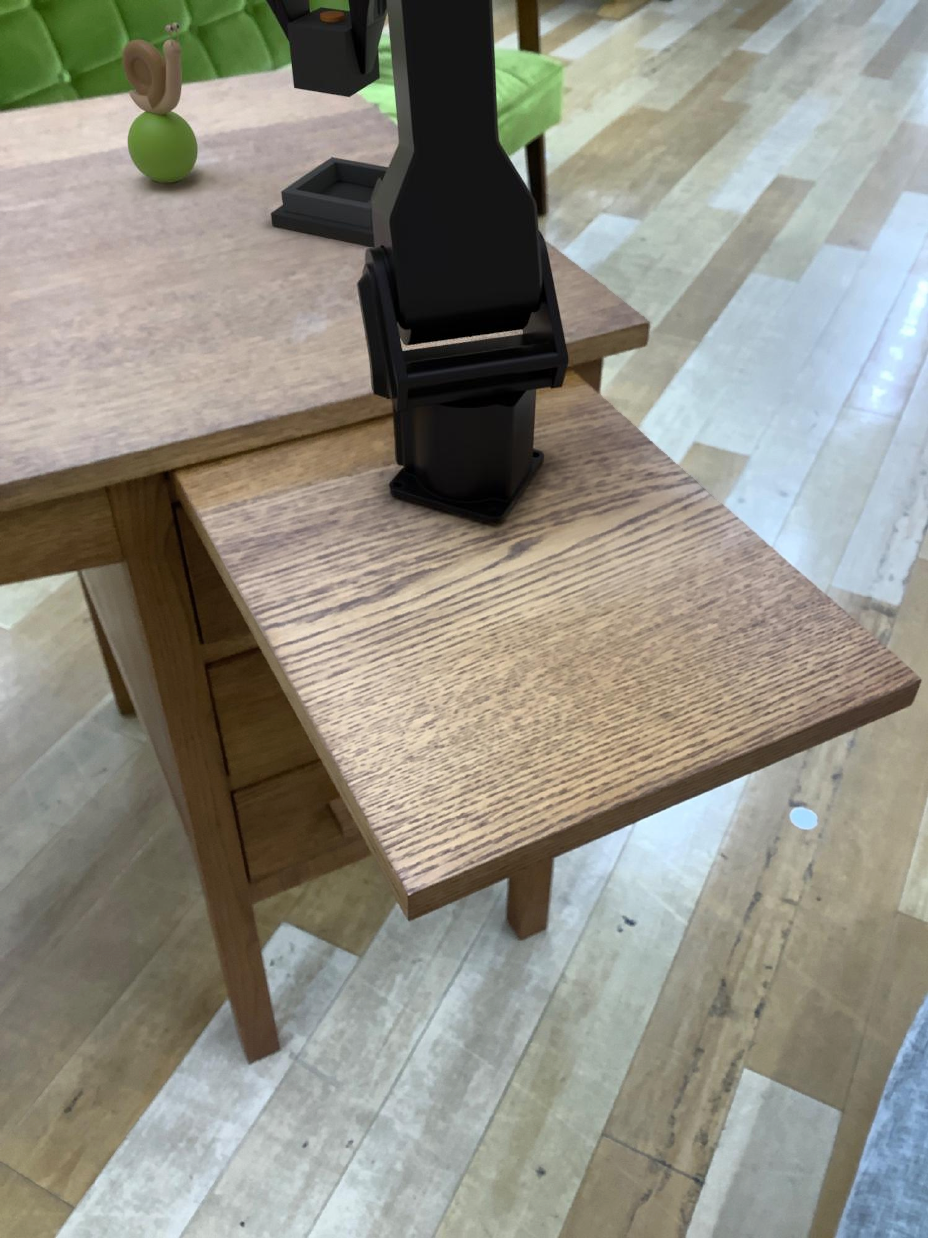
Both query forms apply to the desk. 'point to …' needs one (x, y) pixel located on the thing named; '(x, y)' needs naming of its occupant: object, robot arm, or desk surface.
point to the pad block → (327, 54)
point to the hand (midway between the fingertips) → (336, 67)
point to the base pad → (332, 201)
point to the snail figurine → (158, 111)
